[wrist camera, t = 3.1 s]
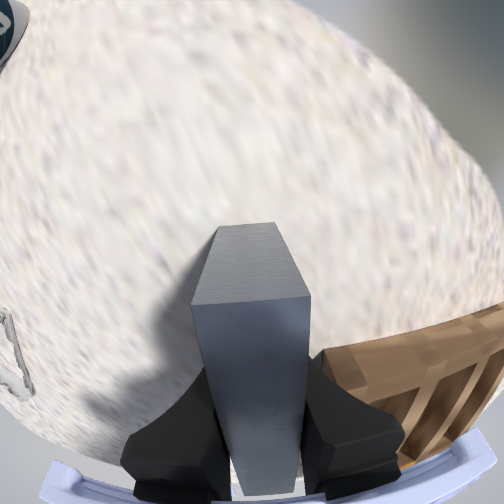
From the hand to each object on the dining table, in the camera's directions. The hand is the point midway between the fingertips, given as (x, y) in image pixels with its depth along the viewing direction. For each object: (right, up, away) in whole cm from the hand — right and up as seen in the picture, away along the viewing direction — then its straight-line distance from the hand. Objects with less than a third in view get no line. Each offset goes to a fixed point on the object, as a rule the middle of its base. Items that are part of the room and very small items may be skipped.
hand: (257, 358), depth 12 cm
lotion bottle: (-18, +20, -5) cm, 27 cm away
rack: (+13, -8, +5) cm, 16 cm away
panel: (0, +1, +2) cm, 2 cm away
